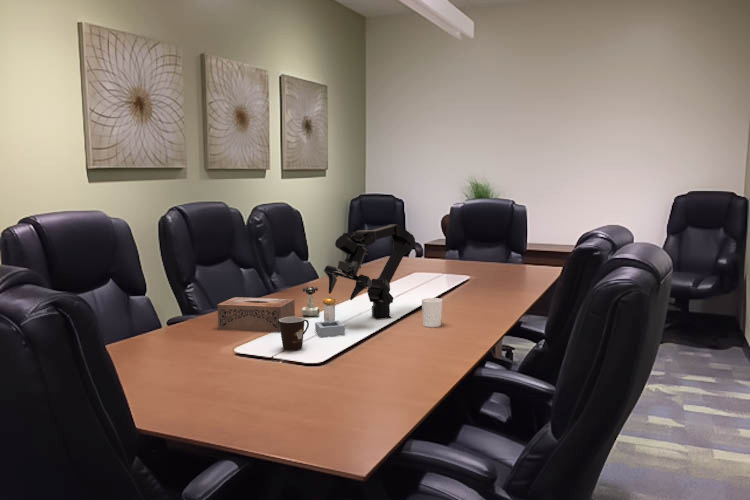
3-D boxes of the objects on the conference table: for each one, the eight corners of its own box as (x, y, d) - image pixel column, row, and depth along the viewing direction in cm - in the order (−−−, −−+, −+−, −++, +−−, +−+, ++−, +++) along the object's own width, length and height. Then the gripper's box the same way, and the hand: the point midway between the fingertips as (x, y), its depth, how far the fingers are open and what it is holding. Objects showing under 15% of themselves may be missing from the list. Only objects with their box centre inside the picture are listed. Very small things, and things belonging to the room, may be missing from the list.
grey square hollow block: (338, 329, 229) (338, 320, 228) (344, 335, 220) (344, 325, 220) (315, 331, 226) (315, 322, 226) (320, 337, 218) (320, 327, 217)
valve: (316, 318, 247) (315, 289, 246) (300, 318, 249) (300, 289, 247) (320, 315, 254) (320, 286, 252) (305, 314, 255) (305, 286, 254)
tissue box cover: (295, 324, 240) (294, 299, 239) (281, 333, 226) (280, 306, 225) (235, 321, 246) (234, 297, 244) (218, 330, 232) (217, 304, 230)
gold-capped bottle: (331, 331, 226) (330, 297, 225) (338, 333, 223) (337, 298, 221) (321, 333, 224) (320, 298, 222) (328, 335, 220) (327, 300, 218)
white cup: (444, 323, 235) (444, 298, 234) (438, 328, 228) (438, 302, 227) (425, 322, 238) (425, 297, 237) (418, 326, 231) (418, 301, 230)
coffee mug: (284, 353, 198) (283, 323, 197) (276, 347, 206) (275, 318, 204) (317, 348, 203) (316, 319, 202) (308, 342, 211) (307, 314, 210)
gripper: (326, 246, 230) (311, 283, 226) (370, 257, 224) (355, 296, 219) (336, 257, 240) (321, 293, 236) (378, 268, 233) (364, 305, 229)
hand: (339, 296), depth 230 cm, fingers open, 9 cm apart
